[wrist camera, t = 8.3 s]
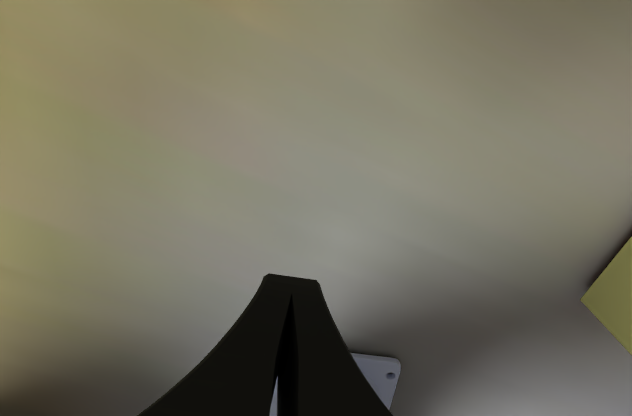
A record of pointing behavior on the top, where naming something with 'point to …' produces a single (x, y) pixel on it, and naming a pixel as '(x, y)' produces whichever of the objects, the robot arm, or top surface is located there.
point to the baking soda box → (614, 297)
